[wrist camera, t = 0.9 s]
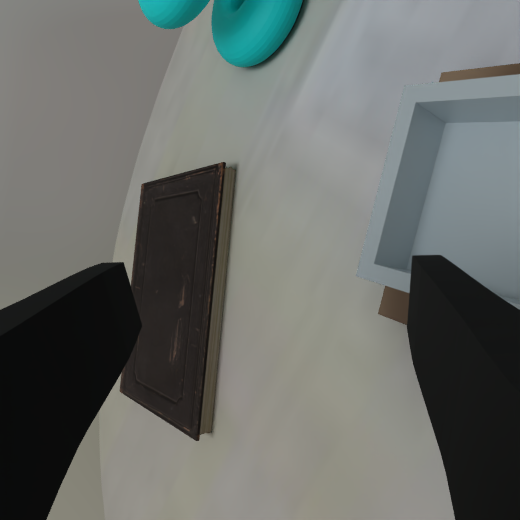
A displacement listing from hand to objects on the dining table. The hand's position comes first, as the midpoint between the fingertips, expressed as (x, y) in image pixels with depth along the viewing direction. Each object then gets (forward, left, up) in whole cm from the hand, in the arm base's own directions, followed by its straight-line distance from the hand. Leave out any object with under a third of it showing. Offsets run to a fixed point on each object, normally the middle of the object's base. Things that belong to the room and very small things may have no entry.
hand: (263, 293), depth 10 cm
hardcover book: (+28, +7, -15) cm, 33 cm away
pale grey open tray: (0, -5, -13) cm, 14 cm away
